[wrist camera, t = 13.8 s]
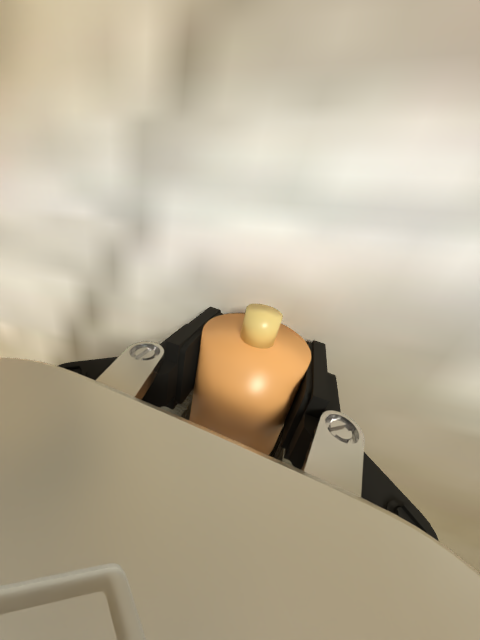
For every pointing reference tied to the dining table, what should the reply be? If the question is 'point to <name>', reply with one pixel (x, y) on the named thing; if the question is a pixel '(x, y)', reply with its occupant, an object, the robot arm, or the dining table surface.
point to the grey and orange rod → (248, 376)
